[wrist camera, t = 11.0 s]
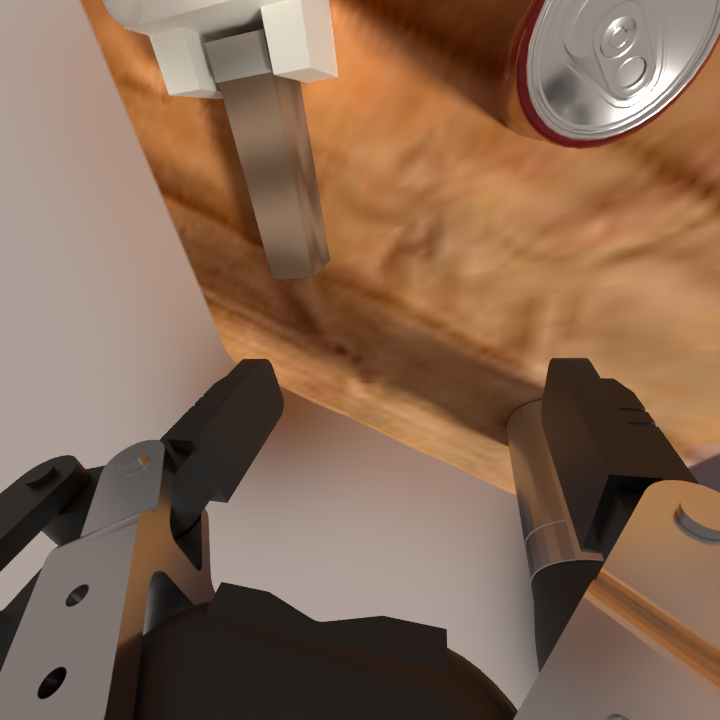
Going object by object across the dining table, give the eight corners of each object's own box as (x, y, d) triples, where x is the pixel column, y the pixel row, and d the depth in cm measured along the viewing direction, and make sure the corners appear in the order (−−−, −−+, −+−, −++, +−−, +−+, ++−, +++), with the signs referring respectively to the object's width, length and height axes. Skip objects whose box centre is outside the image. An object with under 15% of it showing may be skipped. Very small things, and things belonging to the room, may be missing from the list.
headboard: (338, 77, 25) (287, 59, 17) (218, 99, 28) (129, 91, 20) (327, -13, 22) (263, -79, 15) (196, 21, 25) (85, -21, 17)
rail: (330, 259, 34) (313, 279, 29) (292, 261, 35) (270, 280, 30) (295, 44, 24) (262, 29, 20) (245, 55, 26) (204, 42, 21)
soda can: (475, 56, 23) (489, 12, 13) (597, -44, 19) (736, -202, 10) (515, 160, 25) (550, 184, 16) (628, 89, 22) (759, 66, 12)
